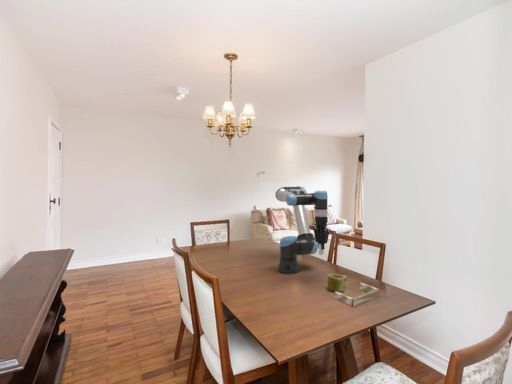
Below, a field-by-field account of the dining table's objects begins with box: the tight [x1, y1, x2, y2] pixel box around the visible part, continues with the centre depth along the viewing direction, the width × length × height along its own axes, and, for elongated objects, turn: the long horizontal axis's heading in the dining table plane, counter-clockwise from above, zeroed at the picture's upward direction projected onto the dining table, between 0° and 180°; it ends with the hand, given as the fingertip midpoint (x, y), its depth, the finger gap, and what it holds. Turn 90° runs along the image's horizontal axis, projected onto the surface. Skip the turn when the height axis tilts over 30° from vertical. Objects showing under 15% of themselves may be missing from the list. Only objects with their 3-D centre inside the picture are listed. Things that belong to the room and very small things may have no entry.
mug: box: [327, 273, 348, 293], centre depth 160 cm, size 12×10×10 cm
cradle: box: [333, 282, 381, 308], centre depth 150 cm, size 12×22×4 cm, turn 123°
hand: (321, 254), depth 171 cm, fingers closed
